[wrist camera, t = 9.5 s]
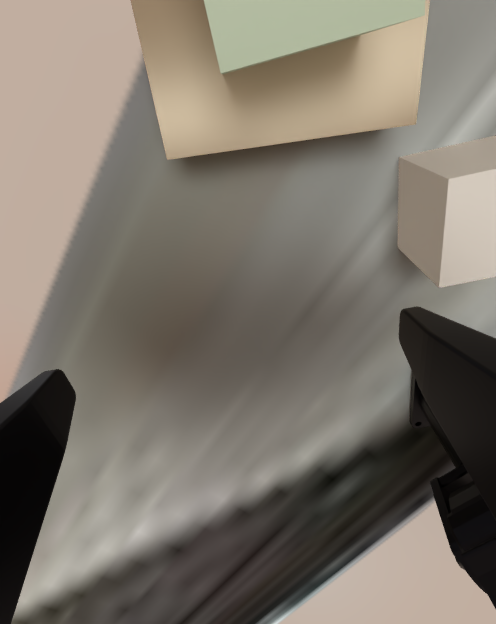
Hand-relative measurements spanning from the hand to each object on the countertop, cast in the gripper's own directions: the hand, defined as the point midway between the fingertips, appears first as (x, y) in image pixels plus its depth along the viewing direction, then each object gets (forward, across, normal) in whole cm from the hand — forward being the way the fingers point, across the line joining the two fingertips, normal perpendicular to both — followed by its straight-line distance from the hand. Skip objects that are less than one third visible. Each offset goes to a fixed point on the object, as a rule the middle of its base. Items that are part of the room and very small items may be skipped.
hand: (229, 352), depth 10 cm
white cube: (+12, -12, +1) cm, 17 cm away
